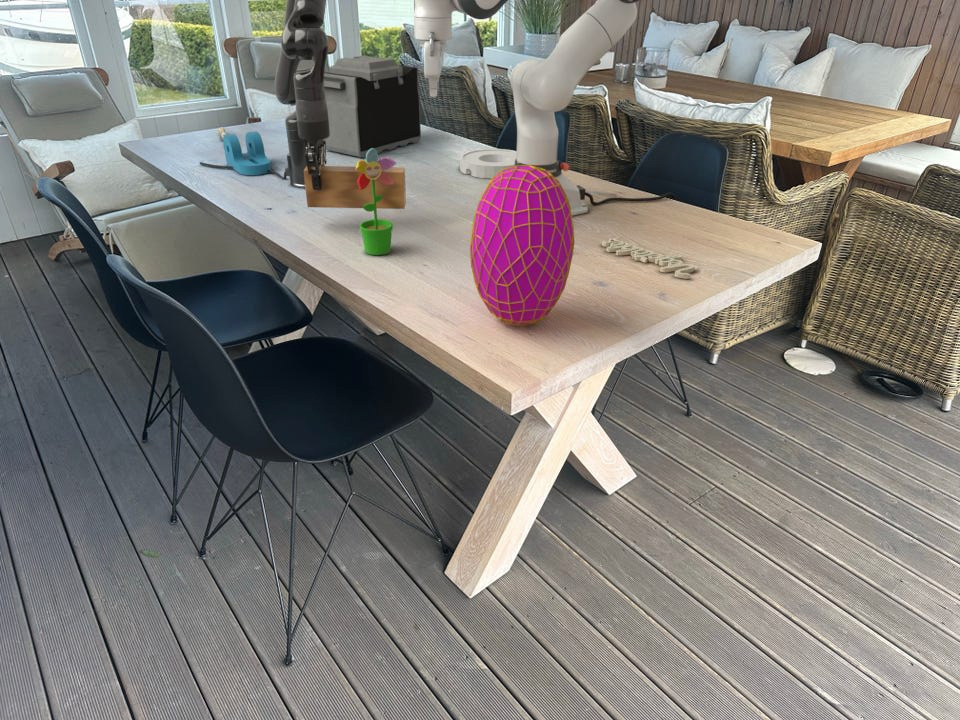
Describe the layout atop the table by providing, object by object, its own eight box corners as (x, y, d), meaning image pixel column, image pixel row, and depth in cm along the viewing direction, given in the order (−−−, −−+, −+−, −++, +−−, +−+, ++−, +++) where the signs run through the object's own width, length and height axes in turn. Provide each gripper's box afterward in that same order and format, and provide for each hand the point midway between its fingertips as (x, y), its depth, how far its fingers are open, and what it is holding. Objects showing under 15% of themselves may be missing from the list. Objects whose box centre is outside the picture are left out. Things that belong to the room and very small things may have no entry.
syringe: (218, 132, 274) (216, 125, 272) (227, 131, 275) (226, 124, 274) (222, 147, 254) (220, 139, 252) (232, 146, 255) (231, 138, 254)
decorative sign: (710, 264, 159) (686, 276, 153) (709, 268, 159) (685, 280, 153) (618, 234, 175) (593, 244, 169) (618, 238, 176) (593, 247, 170)
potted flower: (366, 259, 162) (357, 151, 149) (355, 248, 168) (346, 144, 155) (403, 252, 166) (398, 147, 153) (391, 242, 172) (385, 139, 159)
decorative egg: (525, 353, 124) (534, 190, 109) (449, 319, 135) (447, 167, 120) (586, 318, 136) (602, 167, 121) (512, 290, 148) (517, 148, 132)
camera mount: (227, 164, 233) (221, 132, 227) (257, 160, 238) (252, 129, 233) (244, 176, 220) (239, 143, 215) (276, 172, 225) (271, 139, 220)
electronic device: (383, 133, 276) (378, 52, 261) (425, 141, 265) (422, 56, 250) (314, 150, 251) (304, 61, 235) (358, 160, 240) (350, 67, 224)
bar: (307, 207, 176) (303, 170, 171) (311, 201, 180) (307, 165, 175) (404, 209, 177) (403, 172, 172) (406, 203, 180) (404, 167, 176)
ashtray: (461, 159, 242) (461, 148, 240) (527, 160, 241) (527, 149, 239) (457, 177, 222) (457, 165, 220) (529, 179, 221) (529, 166, 219)
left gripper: (322, 124, 161) (329, 195, 170) (333, 111, 173) (338, 178, 182) (290, 123, 161) (298, 195, 170) (303, 111, 173) (310, 178, 182)
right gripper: (445, 35, 152) (446, 100, 159) (447, 26, 170) (448, 86, 177) (416, 34, 152) (419, 100, 159) (422, 26, 170) (423, 85, 177)
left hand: (319, 186), depth 176 cm, fingers closed on bar, 4 cm apart
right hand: (434, 92), depth 168 cm, fingers open, 8 cm apart
